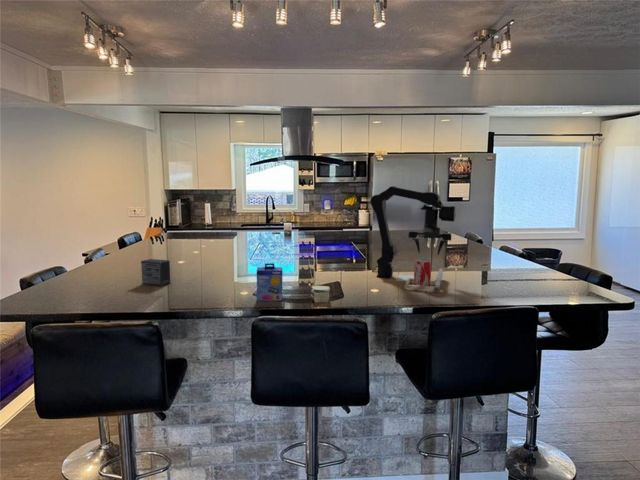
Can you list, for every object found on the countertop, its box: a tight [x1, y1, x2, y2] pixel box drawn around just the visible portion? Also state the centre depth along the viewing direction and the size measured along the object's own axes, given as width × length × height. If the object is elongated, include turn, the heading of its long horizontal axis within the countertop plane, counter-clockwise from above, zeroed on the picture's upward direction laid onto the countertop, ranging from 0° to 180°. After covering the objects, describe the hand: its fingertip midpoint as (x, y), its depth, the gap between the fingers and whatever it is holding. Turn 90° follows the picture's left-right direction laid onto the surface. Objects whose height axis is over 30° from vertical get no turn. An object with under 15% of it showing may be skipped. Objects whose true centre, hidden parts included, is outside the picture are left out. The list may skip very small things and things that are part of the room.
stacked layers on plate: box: [310, 285, 331, 304], centre depth 164 cm, size 10×9×6 cm
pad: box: [395, 274, 414, 282], centre depth 201 cm, size 11×11×1 cm
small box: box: [140, 258, 171, 287], centre depth 186 cm, size 11×6×10 cm, turn 71°
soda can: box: [413, 258, 432, 287], centre depth 185 cm, size 7×7×12 cm
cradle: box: [403, 278, 441, 294], centre depth 186 cm, size 15×14×2 cm
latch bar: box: [434, 268, 444, 290], centre depth 189 cm, size 2×26×4 cm, turn 161°
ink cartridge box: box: [256, 262, 283, 302], centre depth 165 cm, size 10×6×14 cm, turn 95°
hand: (428, 253), depth 195 cm, fingers open, 8 cm apart
